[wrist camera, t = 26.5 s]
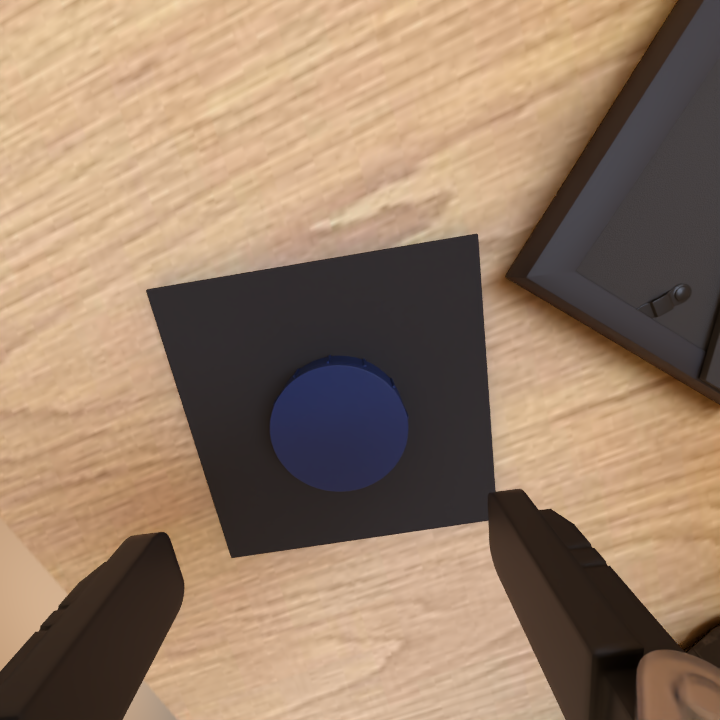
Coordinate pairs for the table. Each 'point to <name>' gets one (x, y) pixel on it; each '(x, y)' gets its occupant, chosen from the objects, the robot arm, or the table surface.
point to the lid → (339, 424)
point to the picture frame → (646, 211)
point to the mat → (336, 338)
